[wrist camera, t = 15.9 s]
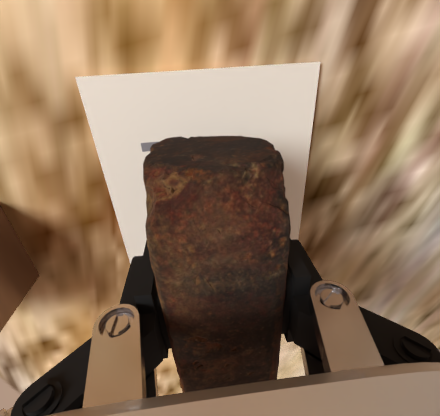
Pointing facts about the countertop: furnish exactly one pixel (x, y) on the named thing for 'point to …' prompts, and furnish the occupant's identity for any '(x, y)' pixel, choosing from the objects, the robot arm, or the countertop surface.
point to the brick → (219, 255)
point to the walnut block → (13, 270)
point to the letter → (197, 125)
